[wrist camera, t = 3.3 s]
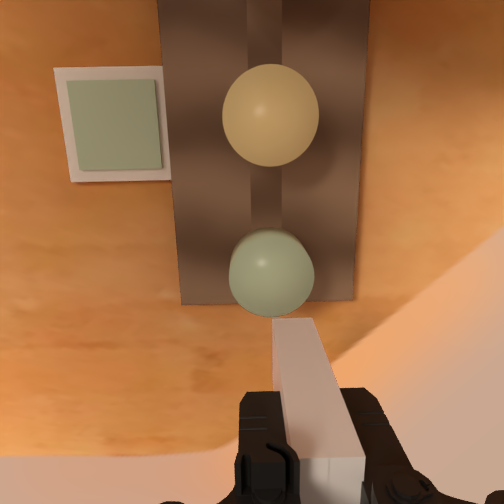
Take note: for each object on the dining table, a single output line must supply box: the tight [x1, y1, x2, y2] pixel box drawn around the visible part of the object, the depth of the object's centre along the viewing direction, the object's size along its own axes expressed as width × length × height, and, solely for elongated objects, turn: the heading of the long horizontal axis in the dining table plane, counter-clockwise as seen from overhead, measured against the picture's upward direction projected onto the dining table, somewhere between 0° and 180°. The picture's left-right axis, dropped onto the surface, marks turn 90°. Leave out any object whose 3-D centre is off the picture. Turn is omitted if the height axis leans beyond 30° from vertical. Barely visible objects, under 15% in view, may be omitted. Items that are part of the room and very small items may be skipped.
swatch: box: [53, 66, 171, 182], centre depth 24 cm, size 7×7×1 cm
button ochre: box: [222, 64, 319, 167], centre depth 21 cm, size 5×5×5 cm
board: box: [157, 0, 370, 305], centre depth 24 cm, size 24×12×2 cm, turn 1°
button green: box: [229, 227, 314, 317], centre depth 23 cm, size 5×5×5 cm
